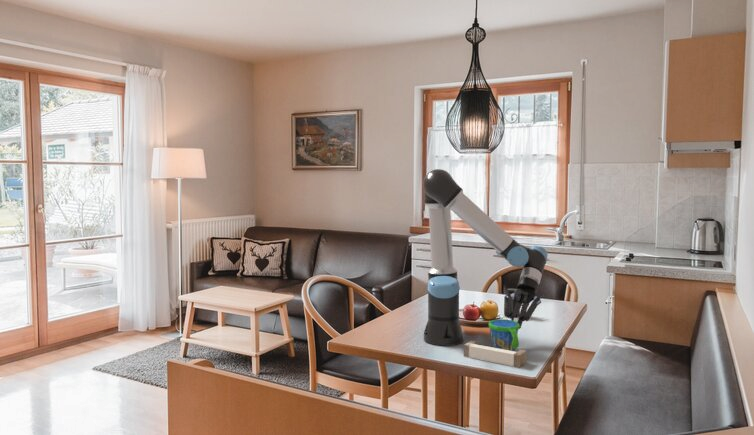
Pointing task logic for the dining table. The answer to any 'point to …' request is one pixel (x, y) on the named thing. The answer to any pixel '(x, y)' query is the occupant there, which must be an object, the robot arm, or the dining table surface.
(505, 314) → the supplement bottle
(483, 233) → the robot arm
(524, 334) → the dining table surface
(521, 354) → the rail
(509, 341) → the snack cup
